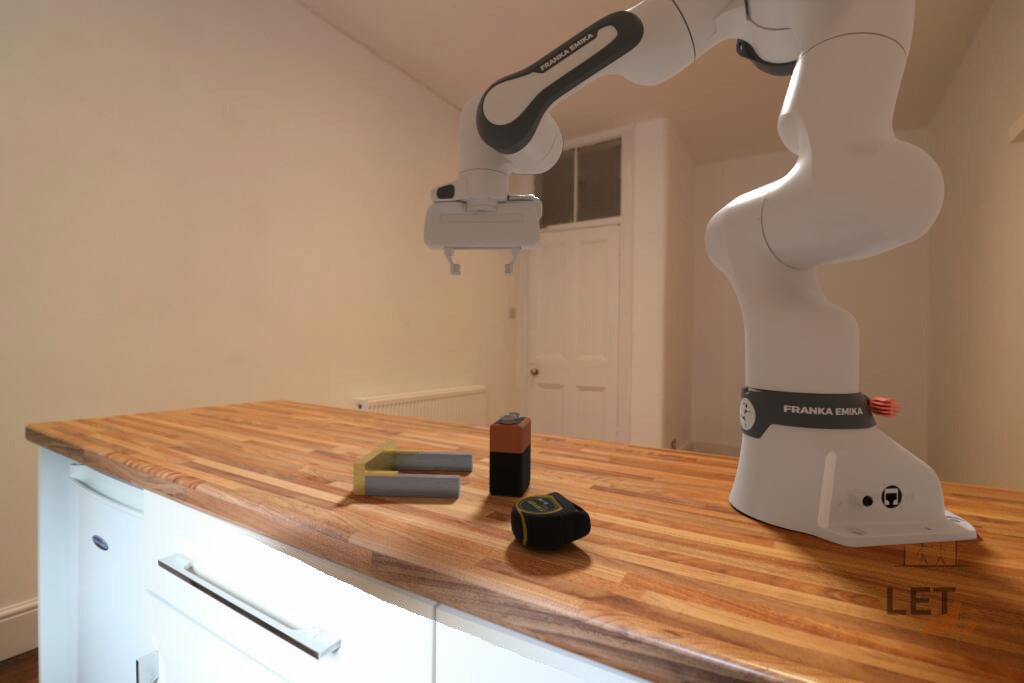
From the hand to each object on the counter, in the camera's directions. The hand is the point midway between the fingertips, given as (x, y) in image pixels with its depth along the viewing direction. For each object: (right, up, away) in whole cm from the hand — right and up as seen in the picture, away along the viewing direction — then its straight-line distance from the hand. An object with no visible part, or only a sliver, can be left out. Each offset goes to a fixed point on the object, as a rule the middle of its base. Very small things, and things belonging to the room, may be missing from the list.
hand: (482, 274), depth 78 cm
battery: (+5, -32, -18) cm, 37 cm away
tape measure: (+12, -31, -35) cm, 48 cm away
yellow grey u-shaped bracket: (-7, -31, -15) cm, 35 cm away
